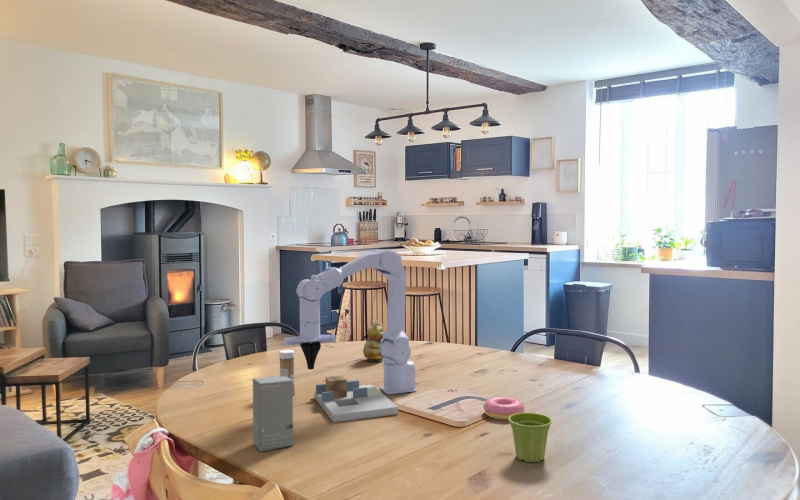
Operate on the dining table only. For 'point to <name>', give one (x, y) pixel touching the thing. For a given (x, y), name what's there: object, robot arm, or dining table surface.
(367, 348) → the decorative figurine
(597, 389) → the dining table surface
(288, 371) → the sprinkles bottle
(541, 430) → the plant pot
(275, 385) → the skincare box
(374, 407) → the deck
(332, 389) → the walnut block
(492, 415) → the doughnut
